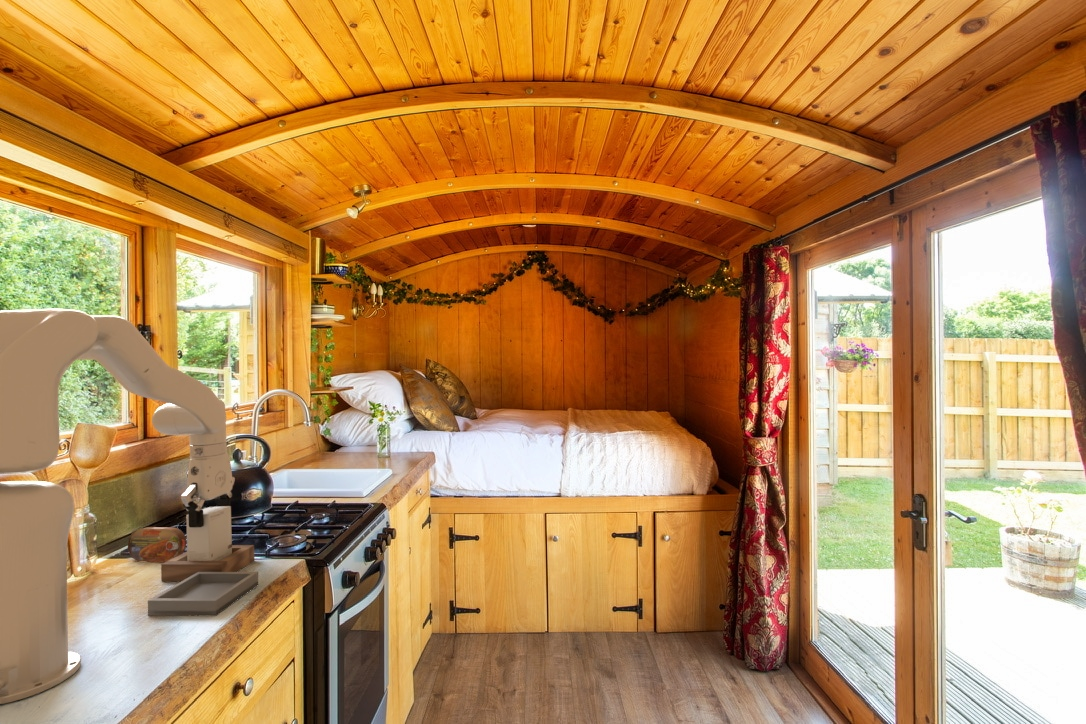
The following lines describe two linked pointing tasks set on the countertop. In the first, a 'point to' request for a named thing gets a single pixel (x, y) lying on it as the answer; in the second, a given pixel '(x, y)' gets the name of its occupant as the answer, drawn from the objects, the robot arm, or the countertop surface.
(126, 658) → the countertop surface
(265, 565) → the countertop surface
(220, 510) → the skincare box
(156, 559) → the tin
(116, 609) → the countertop surface
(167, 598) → the gray tray
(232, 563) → the walnut holder
